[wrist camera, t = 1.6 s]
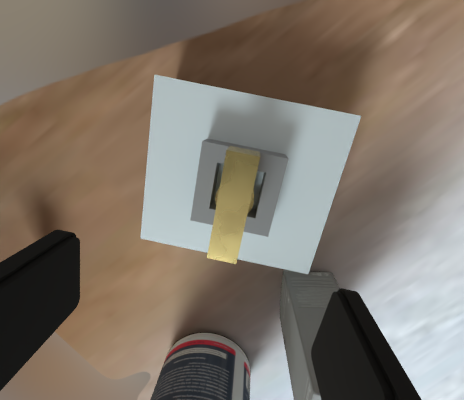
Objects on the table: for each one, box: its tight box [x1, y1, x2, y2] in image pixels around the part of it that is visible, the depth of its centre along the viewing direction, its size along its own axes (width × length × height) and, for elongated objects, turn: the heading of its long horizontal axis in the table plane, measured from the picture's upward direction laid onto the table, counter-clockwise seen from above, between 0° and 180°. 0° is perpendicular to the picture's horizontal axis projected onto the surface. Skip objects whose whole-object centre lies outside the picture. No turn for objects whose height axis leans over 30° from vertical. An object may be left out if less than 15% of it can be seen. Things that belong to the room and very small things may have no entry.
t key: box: [207, 146, 260, 264], centre depth 21 cm, size 3×8×7 cm, turn 169°
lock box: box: [141, 75, 361, 274], centre depth 27 cm, size 18×16×8 cm
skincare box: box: [280, 270, 340, 400], centre depth 28 cm, size 8×7×16 cm
